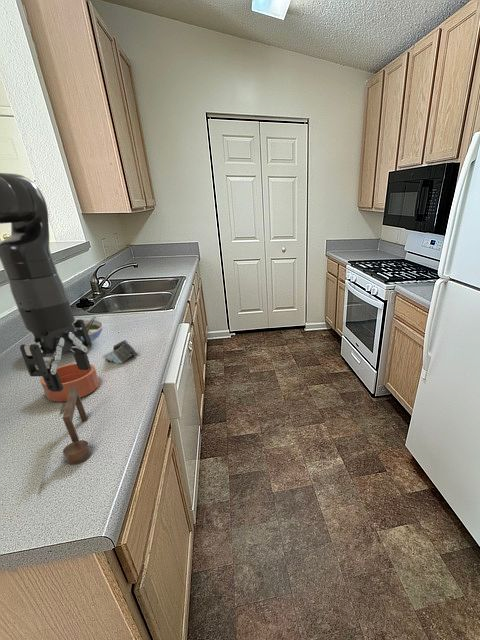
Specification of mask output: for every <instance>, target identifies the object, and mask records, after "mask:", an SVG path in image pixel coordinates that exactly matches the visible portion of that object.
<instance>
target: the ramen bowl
mask: <svg viewBox="0 0 480 640" xmlns="http://www.w3.org/2000/svg"><path fill="white" fill-rule="evenodd" d="M82 320H83V321H84V323H85V326H86V329H87V332H88V334H89V337H90V340H91V343H94V342H95V341H96V340H98V338H99V337H100V335H101V334H102V331H103V328H104V322H103V321H100V320H97V319H96V317H95V316H93V317H92V318H91V319H82ZM80 337H81V340H84V338H83V337H82V336H80ZM33 339H34V336H33ZM68 352H72V351H71V350H68Z"/></svg>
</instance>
